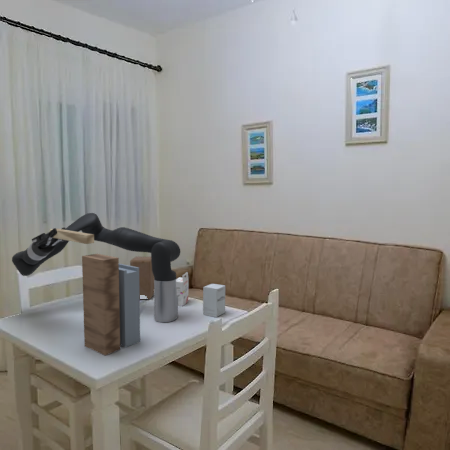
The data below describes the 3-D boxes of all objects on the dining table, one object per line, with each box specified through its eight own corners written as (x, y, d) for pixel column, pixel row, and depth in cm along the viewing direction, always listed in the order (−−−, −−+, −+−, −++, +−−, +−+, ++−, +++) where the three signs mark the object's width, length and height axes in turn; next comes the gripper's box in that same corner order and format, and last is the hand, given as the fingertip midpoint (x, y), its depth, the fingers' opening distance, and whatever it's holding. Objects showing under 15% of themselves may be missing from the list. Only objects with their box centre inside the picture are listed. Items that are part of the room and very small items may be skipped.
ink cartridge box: (179, 300, 189) (178, 270, 187) (188, 300, 188) (188, 271, 186) (173, 305, 180) (173, 274, 179) (183, 306, 179) (183, 275, 178)
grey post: (119, 333, 146) (117, 263, 143) (140, 341, 138) (139, 267, 136) (104, 338, 140) (103, 265, 138) (125, 347, 133) (124, 270, 130)
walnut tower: (99, 340, 139) (97, 253, 135) (120, 349, 131) (118, 257, 128) (84, 346, 134) (81, 256, 131) (105, 355, 127) (103, 260, 123)
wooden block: (150, 300, 188) (150, 260, 186) (130, 299, 188) (129, 259, 186) (154, 294, 198) (154, 256, 196) (135, 294, 198) (134, 256, 196)
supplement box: (216, 317, 164) (216, 289, 163) (202, 314, 168) (202, 286, 167) (225, 313, 170) (225, 285, 169) (211, 310, 174) (212, 282, 173)
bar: (57, 236, 148) (57, 228, 147) (94, 243, 133) (93, 234, 133) (49, 237, 145) (49, 229, 145) (86, 244, 131) (86, 235, 131)
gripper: (20, 241, 148) (39, 222, 138) (54, 237, 159) (74, 219, 150) (25, 259, 147) (45, 241, 137) (60, 254, 158) (80, 237, 148)
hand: (60, 230), depth 143 cm, fingers closed on bar, 3 cm apart
